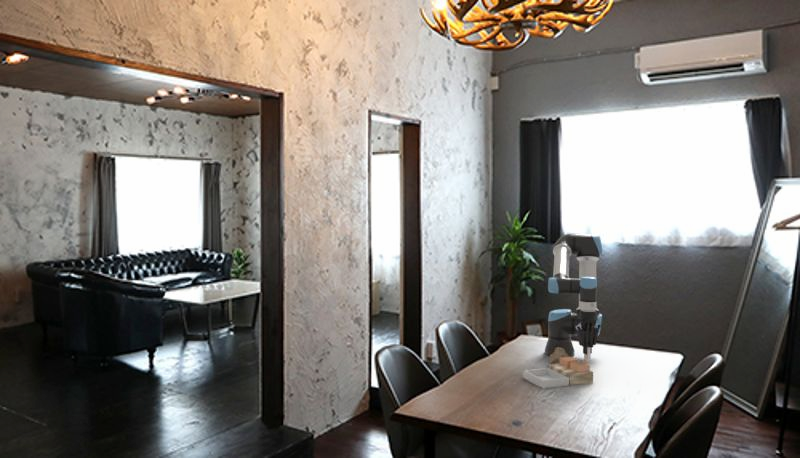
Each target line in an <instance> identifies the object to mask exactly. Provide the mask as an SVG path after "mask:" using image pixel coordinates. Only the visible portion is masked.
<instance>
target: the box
mask: <svg viewBox="0 0 800 458" xmlns="http://www.w3.org/2000/svg"><path fill="white" fill-rule="evenodd" d="M522 372H523V375H522V376H523V379H524V380H526V381H528V382H530V383H532V384H533V385H536V386H537V387H539V388H540V389H543V390H544V389H552V388H560V387H570V385H569V377H567V376H564V375H562V374H560V373H558V372H556V371H554V370H552V369H549V367H544V368H534V369H526V370H523V371H522Z"/></svg>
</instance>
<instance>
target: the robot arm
mask: <svg viewBox="0 0 800 458" xmlns="http://www.w3.org/2000/svg"><path fill="white" fill-rule="evenodd" d="M552 254H553V255H554V259H553V270H552V271H553V273H552V277H549V278H548V279H547V280H548V282H547V284H548V285H547V289H548V292H549V293H551V294H567V295H568V294H569V295H570V294H572V295H578V307H577V308H576V309H575V312H572V310H571V309H570V308H567V309H566V308H563V309H561V308H560V309H554V310H550V311H549V313H548V320H547V321H548V330H547V331H548V332H547V333H548V336H547V337H548V339H547V341H546V344H545V347H544V354H545V355H547V356H549V357H550V355H551V354H553V352H554V350H555V348H556V347H559V348H563V349H564V350H565V352H566V354H567V355H569V357H574V356H575V348H574V346H573V345H574V344H573V342H572V336H577V340H578V345H579V346H580V347H582V353H583V355H584V356H583V360H584V362H586V363H587V362H589V363H590V362H591V358H592V355H591V354H592V353H593V352H592V351H593V349H592V348H594V347H595V346H596V345H597V341H598V340H597V339H598V337H599V335H600V332H601V326H602V320H603V314H601V313H600V310H599V309H598V308H597V307H598V306H597V304H598V303H597V301H598V300H597V296H598V294H597V293H598V291H597V290H598V279H597V262H598V261H599V260H600V257H602V256H603V248H602V240H601V236H600V235H599V234H596V233H567V234H564V235H562V236H561V237H559V238H558V239H557V240H556V242H555V243H554V245H553V247H552ZM571 256H576V260H577V262H579V268H578V269H579V271H578V274H579V275H578V276H579V278H576V277H574V278H573V277H570V276H569V275H570V257H571Z"/></svg>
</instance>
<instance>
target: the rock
mask: <svg viewBox="0 0 800 458" xmlns="http://www.w3.org/2000/svg"><path fill="white" fill-rule="evenodd" d="M562 357H569V355H567V354H566V352H565V350H564V349H563V348H559V347H556V348H555V350H554V352H553V354H551V355H550V356H549V357H548V359H549V360H548V366H549V365H550V364H559V363H560V358H562Z"/></svg>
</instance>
